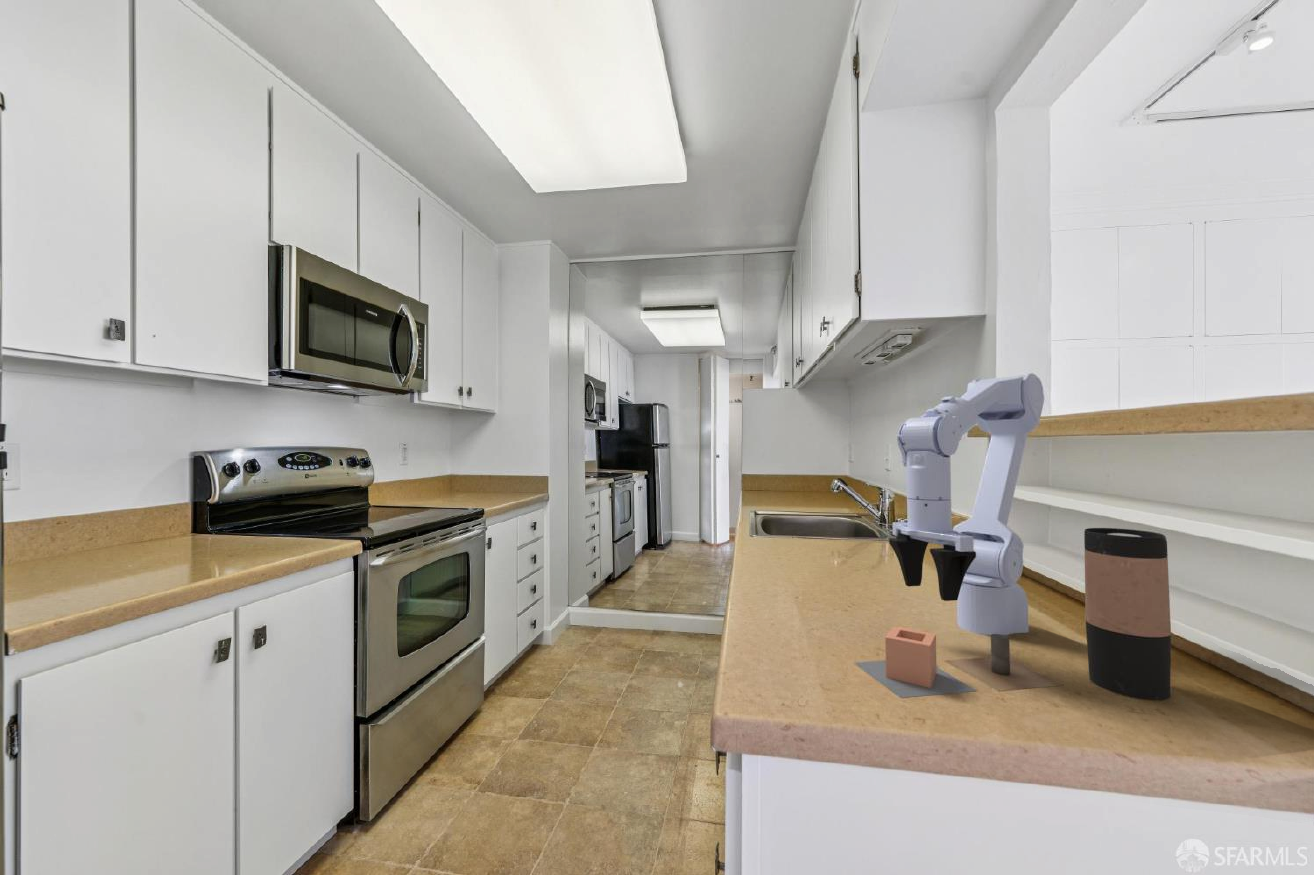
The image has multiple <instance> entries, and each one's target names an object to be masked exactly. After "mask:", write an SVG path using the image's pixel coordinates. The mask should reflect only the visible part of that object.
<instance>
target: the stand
mask: <svg viewBox="0 0 1314 875" xmlns="http://www.w3.org/2000/svg"><path fill="white" fill-rule="evenodd" d="M1010 647H1011V646H1010V637H1009V636H1008V635H1000V634H991V636H990V656H983V657H972V658H960V659H946V660H944V662H946V663H947V664H950V666H953V667H955V668H957V669H959V670H960V671H962V672H963V673H965V674H967V675H969V676H970V677H972V678H974V679H976V680H978V681H979V682H982V683H983V684H985V685H986V686H989V687H990V688H992V689H994V690H996V691H997V692H1005V691H1016V690H1017V691H1018V690H1027V689H1037V688H1038V689H1039V688H1049V687H1060V686H1064V684H1062V683H1060V682H1059V681H1056V680H1054V679H1052V678H1050V677H1047V676H1045V675H1044V674H1041V673H1039V672H1037V671H1035V670H1034V669H1031V668H1029V667H1026V666H1025V665H1023V664H1020V663H1018V662H1016V661H1014V660H1012V659H1010V658H1011V656H1010V654H1011V653H1010Z"/></svg>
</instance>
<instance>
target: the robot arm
mask: <svg viewBox="0 0 1314 875" xmlns="http://www.w3.org/2000/svg"><path fill="white" fill-rule="evenodd" d="M1044 403H1045V394H1044V387H1043V382H1042V381H1041V379H1040V377H1038V376H1037V375H1036V374H1035V373H1032V372H1031V373H1030V372H1029V373H1026V374H1024V375H1023V374H1021V375H1012V376H1004V377H994V378H986V379H980V378H977V379H973V380H972V381H970V382H968V383H967V388H966V392H965V393H964V394H963V395H961V397H955V396H953V395H952V396H944V397H942V398H941V399H940V403H939V404H938V405H936V406H934V407H933V408H928V409H927V410H926V411H925V413H924V414H923V415H921V416H920V417H911V418H908V419H907V420H905V421H904V422H902V424H900V427H899V428H898V429H899V430H898V434H897V436H896V442H897V446H898V449H899V451H900V453H901V461H902V465H903V467H905V469H906V509H907V510H906V511H907V512H906V514H907V516H906V517H907V522H905V521H903V522H902V521H901V522H896V521H895V522H892V535H893V536H896V537H893V538H889V539H888V543H889V545H890V546H891V548H892V550H893V552H894V553H895V555H896V558H897V560H898V563H899V566H900V570H901V572H902V577H903V580H904V584H905V586H906V587H920V586H921V585H922V580H923V566H924V565H923V563H924V558H925V554H926V551H927V547H928V544H929V543H930V544H934V545H938V546H943V547H942V548H941V547H939V548H938V547H937V548H929V553H930V555H931V557H932V559H933V562H934V566H935V569H936V573H937V581H938V582H937V583H938V592H939V595H940V599H941V600H942V601H944V602H950V601H956V606H957V607H956V610H957V614H956V616H957V618H956V619H957V620H956V621H957V626H958V627H959V628H960V629H962V630H964V631H966V632H967V631H968V632H970V633H974V634H977V635H984V636H990V637H991V634H1000V635H1005V636H1008V635H1012V634H1013V635H1014V634H1023V633H1029V632H1030V630H1029V602H1028V601H1029V600H1028V596H1027V594H1026V591H1025V590H1024V588H1022V586H1021V585H1020V584H1018V583H1017V582H1018V581H1019V579H1020V578H1021V576H1022V573H1023V569H1024V543H1023V541H1022V539H1021V536H1020V535H1018V534H1017V532H1015V531H1014V530H1013V529H1011V528H1010V527H1009V526H1008V522H1009V517H1010V514H1011V509H1012V508H1011V507H1012V503H1013V499H1014V494H1015V490H1016V486H1017V483H1018V478H1019V474H1020V473H1019V472H1020V468H1021V464H1022V459H1023V456H1024V452H1025V447H1026V443H1027V442H1026V441H1027V437H1028V434H1029V433H1030V432H1032V431H1034V430H1036V429H1037V428H1038V427H1039V423H1040V420H1041V416H1042V412H1043V407H1044ZM975 425H977V426H978V428H979V430H980V431H983V432H985V433H987V434H989V435H990V436H991V437H990V441H989V446H988V450H987V454H986V457H985V462H984V465H983V470H982V474H981V478H980V482H979V486H978V491H977V493H976V497H975V501H974V504H973V505H974V506H973V509H972V514H971V517H970V518H968V519H965V520H964V521H961V522H960V523H958V524H956V525H954V526H952V525H953V523H952V522H953V521H952V482H951V481H952V480H951V478H952V477H951V476H952V475H951V473H952V472H951V470H952V469H951V456H952V455H955V454H956V452H957V450H958V448H959V444H960V441H962V437H963V436H964V435H965V434H966V433H968V432H969V431H971V429H973V428H974V427H975ZM952 528H953V529H952Z"/></svg>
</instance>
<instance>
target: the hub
mask: <svg viewBox="0 0 1314 875" xmlns="http://www.w3.org/2000/svg"><path fill="white" fill-rule="evenodd" d="M853 664H854V665H856V667H858V668H859V669H861V670H862V671H863V672H864V673H867V675H869V676H870V677H872V678H873V679H875V680H876V682H879V683H880V684H881V685H882V686H883V687H884V688H886V689H888V690H889V691H891V692H892V693H893V694H894V695H895V696H897V697H898V698H900V699H906V698H907V699H908V698H916V697H918V698H919V697H928V696H929V697H930V696H937V695H949V694H950V695H951V694H960V693H970V692H972V693H973V692H977V691H978V690H977V689H975V688H973V687H972V686H970V685H968V684H966V683H965V682H963V681H962V680H959V679H958V678H956V677H954V676H953V675H951V674H950V673H948V672H946V671H945V670H943V669H942V668H941V669H940V668H939V667H937V674H936V676H935V679H934V681H933V684H932V686H931V688H929V687H924V686H920V685H916V684H912V683H908V682H903V681H899V680H895V679H891V678H887V677H886V659H885V660H884V659H883V660H871V661H857V662H853Z"/></svg>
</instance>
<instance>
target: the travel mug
mask: <svg viewBox="0 0 1314 875" xmlns="http://www.w3.org/2000/svg"><path fill="white" fill-rule="evenodd" d="M1083 535H1084V538H1083V539H1084V540H1083V542H1084V543H1083V544H1084V590H1085V591H1084V594H1085V595H1084V599H1085V600H1084V604H1085V605H1084V606H1085V608H1084V609H1085V610H1084V611H1085V613H1084V614H1085V617H1084V618H1085V633H1086V635H1085V636H1086V647H1087V650H1086V651H1087V661H1088V663H1087V664H1088V678H1089V680H1090V681H1091V683H1093V684H1094V685H1095V686H1098V687H1100V688H1102V689H1103V690H1106V691H1108V692H1111V693H1115V694H1117V695H1121V696H1125V697H1129V698H1135V699H1138V700H1146V701H1165V700H1167V699H1170V697H1171V668H1172V667H1171V665H1172V663H1171V662H1172V661H1171V660H1172V659H1171V658H1172V657H1171V656H1172V652H1171V651H1172V636H1171V634H1172V627H1171V626H1172V624H1171V605H1170V602H1171V601H1170V600H1171V599H1170V582H1169V580H1170V579H1169V562H1168V560H1169V559H1168V558H1169V557H1168V555H1169V554H1168V541H1167V537H1166V535H1164V534H1163V533H1159V532H1155V531H1149V530H1148V531H1147V530H1140V529H1128V528H1118V527H1117V528H1116V527H1115V528H1114V527H1112V528H1111V527H1089V528H1088V527H1087V528H1085V529H1084V534H1083Z"/></svg>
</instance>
